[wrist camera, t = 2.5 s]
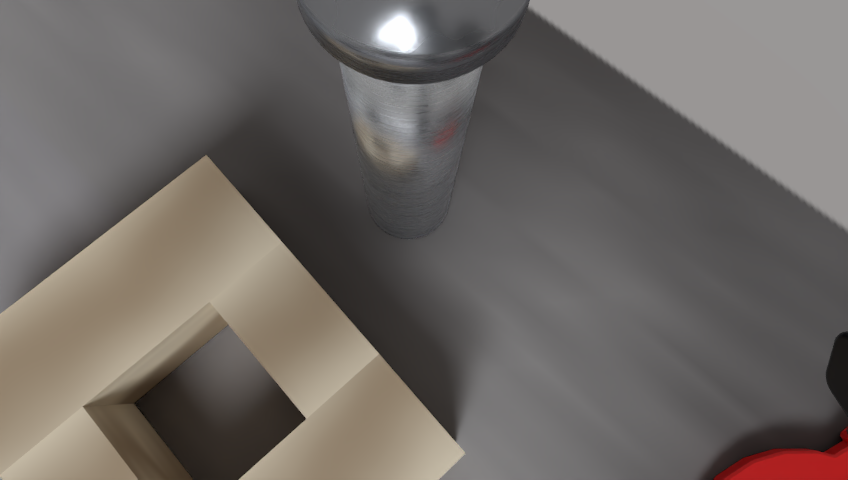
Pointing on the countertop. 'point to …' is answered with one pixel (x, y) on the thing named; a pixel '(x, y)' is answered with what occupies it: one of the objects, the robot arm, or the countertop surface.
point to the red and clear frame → (793, 464)
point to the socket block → (186, 333)
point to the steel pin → (411, 93)
